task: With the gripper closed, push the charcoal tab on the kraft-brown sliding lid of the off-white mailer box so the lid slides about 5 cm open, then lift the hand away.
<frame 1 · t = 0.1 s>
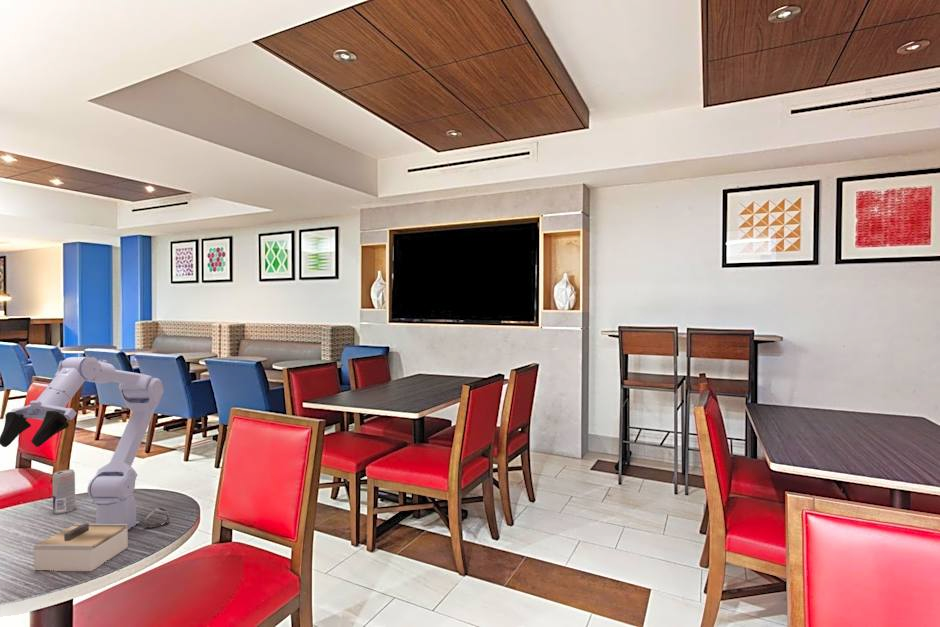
hand: (18, 444, 113), 32 cm above the table, tool tilted 50°, fingers open, 7 cm apart
lid: (82, 532, 125), point 6 cm above the table, slide at 0.0 cm
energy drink: (64, 511, 155), on the table
mailer box: (83, 558, 125), on the table
wristwatch: (156, 526, 144), on the table
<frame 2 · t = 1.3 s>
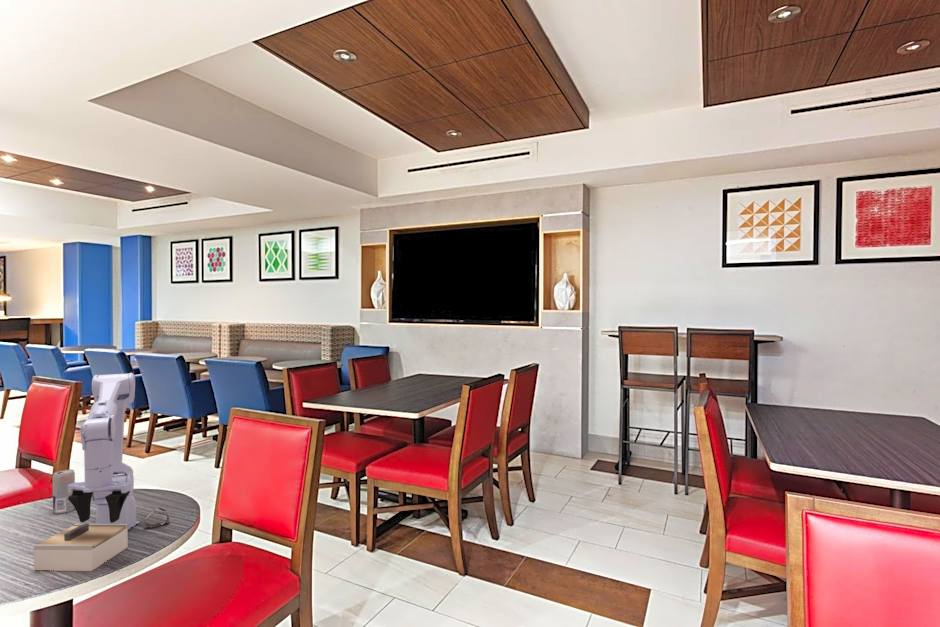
hand: (99, 520, 125), 9 cm above the table, tool pointing down, fingers open, 7 cm apart
nothing on the table moved.
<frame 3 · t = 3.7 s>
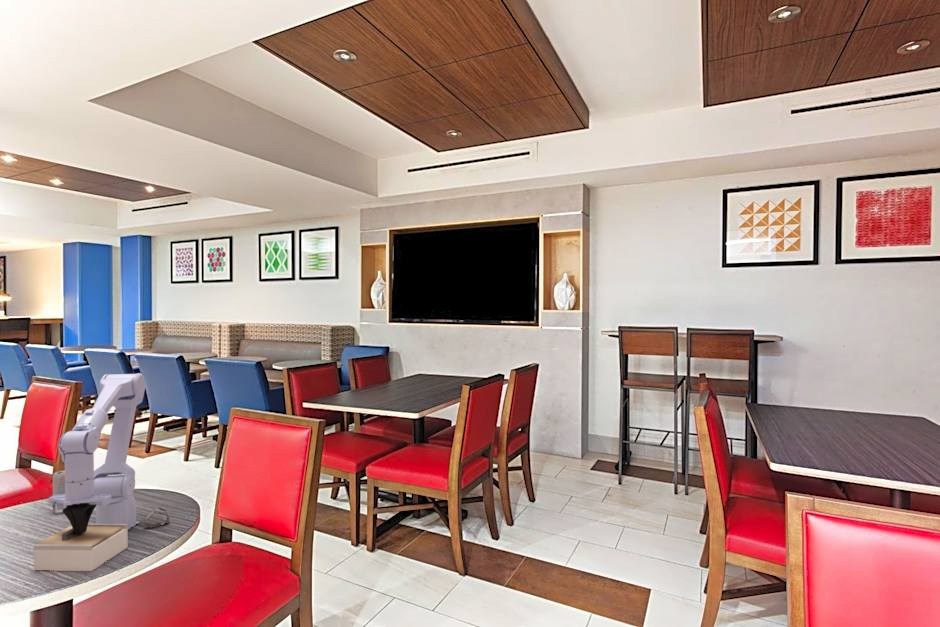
hand: (80, 533, 125), 6 cm above the table, tool pointing down, fingers closed
lid: (80, 532, 125), point 6 cm above the table, slide at 0.6 cm, touching gripper
everything else where it was.
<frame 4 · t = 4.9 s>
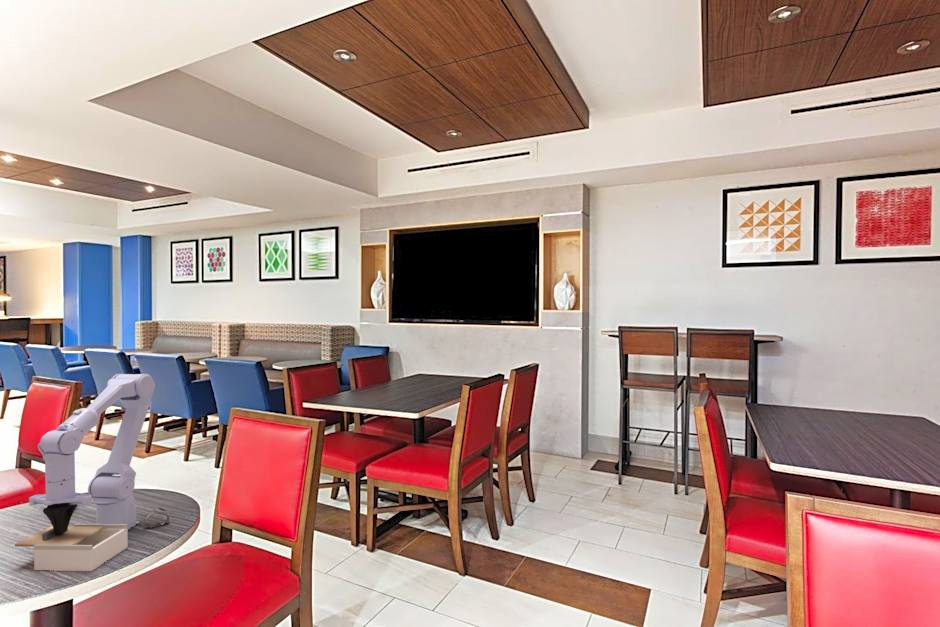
hand: (61, 533, 126), 6 cm above the table, tool pointing down, fingers closed
lid: (61, 532, 126), point 6 cm above the table, slide at 5.5 cm, touching gripper
everything else where it was.
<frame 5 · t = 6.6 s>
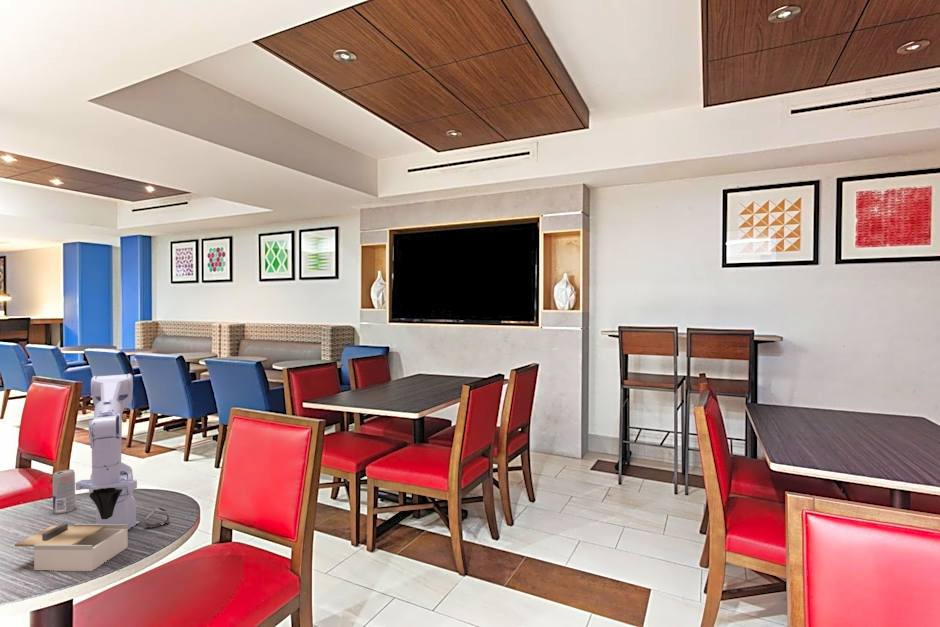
hand: (106, 517, 127), 9 cm above the table, tool pointing down, fingers closed
lid: (61, 532, 126), point 6 cm above the table, slide at 5.5 cm
everything else where it was.
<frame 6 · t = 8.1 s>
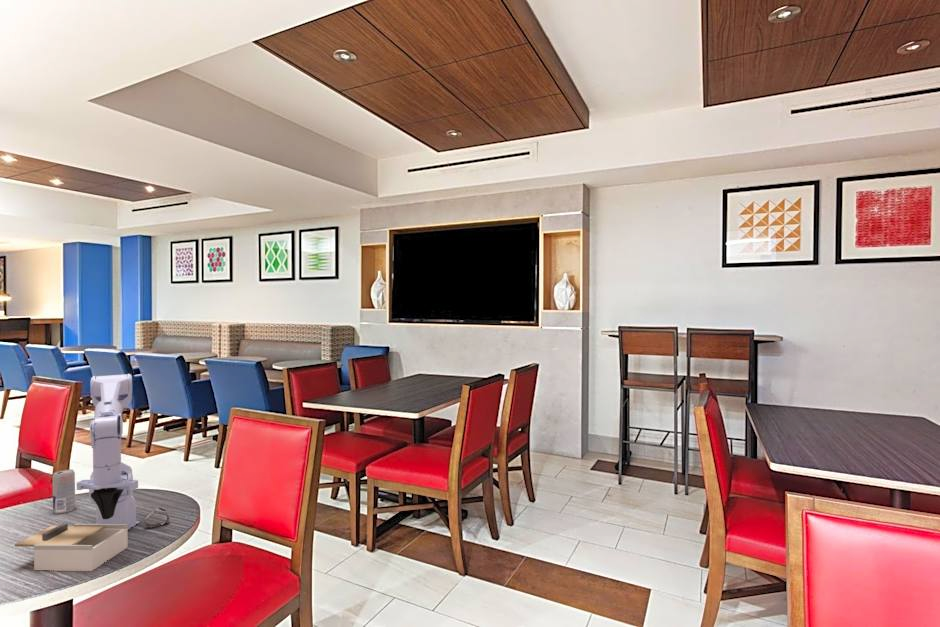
hand: (108, 517, 127), 9 cm above the table, tool pointing down, fingers closed
nothing on the table moved.
at the end: lid slide at 5.5 cm; wristwatch moved 0.3 cm from its start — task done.
